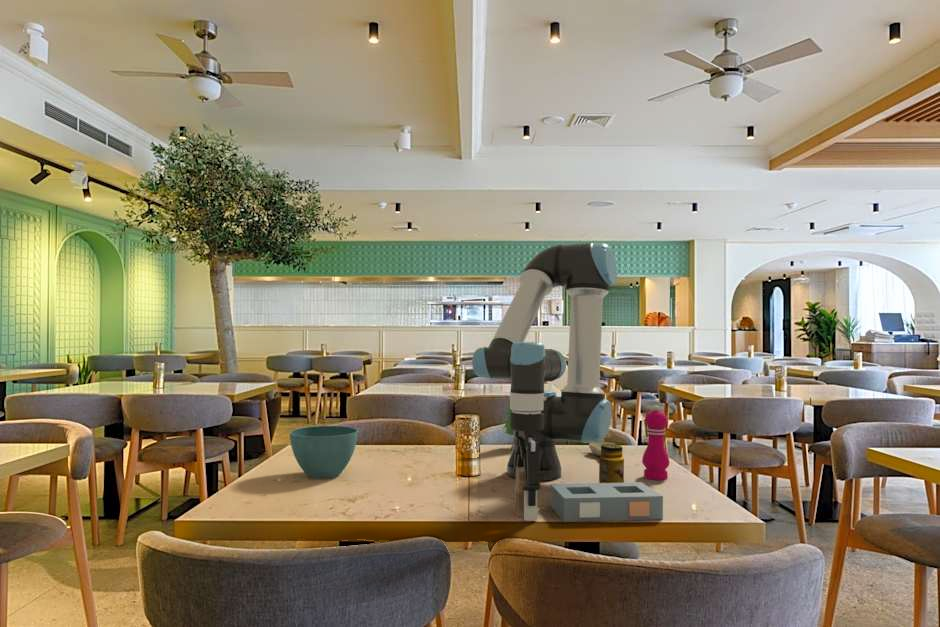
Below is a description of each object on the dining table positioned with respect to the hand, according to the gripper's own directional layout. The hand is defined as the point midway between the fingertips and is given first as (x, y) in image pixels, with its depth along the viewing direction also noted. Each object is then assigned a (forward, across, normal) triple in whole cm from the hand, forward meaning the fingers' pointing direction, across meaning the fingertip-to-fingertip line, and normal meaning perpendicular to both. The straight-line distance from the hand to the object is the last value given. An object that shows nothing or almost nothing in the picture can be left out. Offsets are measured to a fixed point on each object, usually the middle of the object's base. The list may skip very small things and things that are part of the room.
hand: (525, 513), depth 140 cm
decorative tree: (0, +72, -12) cm, 73 cm away
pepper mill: (0, +30, -43) cm, 53 cm away
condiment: (0, +15, -24) cm, 28 cm away
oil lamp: (0, +60, -38) cm, 71 cm away
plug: (0, 0, 0) cm, 0 cm away
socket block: (0, 0, -18) cm, 18 cm away
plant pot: (+1, +39, +48) cm, 62 cm away
